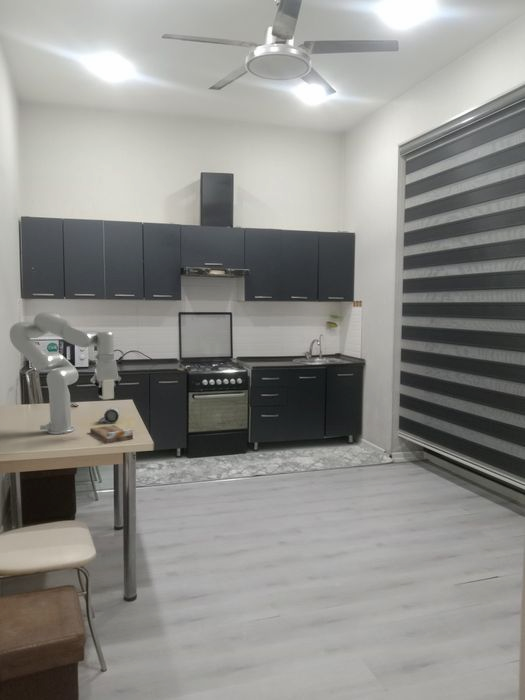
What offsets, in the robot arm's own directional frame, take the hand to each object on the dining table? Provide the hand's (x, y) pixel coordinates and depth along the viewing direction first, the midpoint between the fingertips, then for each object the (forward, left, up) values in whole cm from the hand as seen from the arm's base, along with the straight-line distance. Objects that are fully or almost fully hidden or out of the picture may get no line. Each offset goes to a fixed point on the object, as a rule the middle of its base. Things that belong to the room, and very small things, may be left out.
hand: (106, 394), depth 247 cm
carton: (0, 0, -2) cm, 2 cm away
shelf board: (0, -5, -19) cm, 20 cm away
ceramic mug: (+10, +24, -20) cm, 32 cm away
